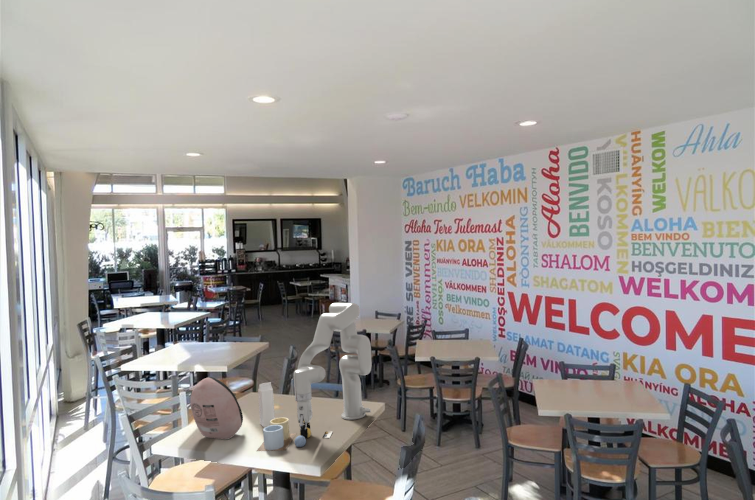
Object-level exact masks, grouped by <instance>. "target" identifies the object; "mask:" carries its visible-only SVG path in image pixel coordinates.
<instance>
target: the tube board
mask: <svg viewBox="0 0 755 500" xmlns="http://www.w3.org/2000/svg"><path fill="white" fill-rule="evenodd" d="M323 433H324V434H323V435H322V438H321V439H330V438H331V437H332V435H333V430H326V431H324V432H323ZM297 434H298V433H297V432H294V433H290V437H289V438H288V439H286V440H284V446H283V447H282V448H280V449H276V450H267V449H265V448H264V441H263V442H262V444H261V445H260V446H258V448H257V450H256V452H268V451H269V452H279V451H282V452H283V451H287V449H288V447H289V446H290V444H291V443H292V441H293V440H294V438H296V437H295V436H297Z"/></svg>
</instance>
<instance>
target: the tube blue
mask: <svg viewBox="0 0 755 500" xmlns="http://www.w3.org/2000/svg"><path fill="white" fill-rule="evenodd" d="M262 434H263V442H264V448H265V449H267V450H276V449H280V448H282V447H283V446H284V436H283V427H282V426H281V425H271V426H267V427H263V429H262Z"/></svg>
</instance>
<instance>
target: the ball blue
mask: <svg viewBox="0 0 755 500" xmlns="http://www.w3.org/2000/svg"><path fill="white" fill-rule="evenodd" d="M306 439H307V438H305V437H304V436H301V435H300V434H299V435H298V436H297V435H296V437H295V439H294V445H295V447H297V448H302V447H304V446H306V443H307V440H306Z"/></svg>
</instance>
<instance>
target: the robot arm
mask: <svg viewBox="0 0 755 500" xmlns="http://www.w3.org/2000/svg"><path fill="white" fill-rule="evenodd" d="M360 313H361V309H360V306H359V305H358V304H357V303H355V302H333V303H331V304H330V305H329V307H328V312H325V313H322V314H320V316H319V319H318V322H317V325H316V328H315V333H314V336H313V339H312V340H313V341H311V343H310V345H308V346H307V347H306V349H305V350H304V351H303V352H302V354H301V356H300V357H299V361H298V365H297V369H295V370H294V371H293V383H294V384H293V385H294V387H293V388H294V400H295V402H296V403H297V404H296V409H297V413H296V414H297V422H298V424H299V430H300V431H299V432H300V433H299V435H300V434H301V436H304V437H305V439H309V438H308V431H307V428H309V429H310V430H311V420H312V418H313V407H312V386H311V385H312V384H315V383H320V382H322V381H323V380H324V379H325V378H326V374H327V373H326V372H327V371H326V369H325V368H324V367H322V366H321V365H314V364H311V362H312V360H314V357H315V356H316V355H317V354H319V353H321V352H324V351H325V350H327V349H328V348H330V347H331V343H332V338H333V334H334V331H337V332H338V331H340V333H339V336H340V347H341V350H342V352H345V353H349V354H345V355H343V356H342V357H341V358H340V359H339V362H338V364H339V367H338V368H339V371H340V375H341V381H342V385H341V386H342V399H343V412H342V413H341V414H340V415H341V418H342V419H344V420H351V421H352V420H359V419H362V418H364V417H366V413H372V410H371V408H369V407H364V405H363V402H362V401H363V400H362V399H363V398H362V386H361V385H362V383H361V378H360V376H366V375H367V376H368V375H369V374H370V373H371V371H372V366H373V365H372V364H373V363H372V346H371V345H372V344H371V341H370V338H369V337H368V336H367V335H365V334H364V335H363V334H358V332H357V331H358V329H357V324H356V320H357V319H358V318H359V316H360ZM355 354H357V355H355Z"/></svg>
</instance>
